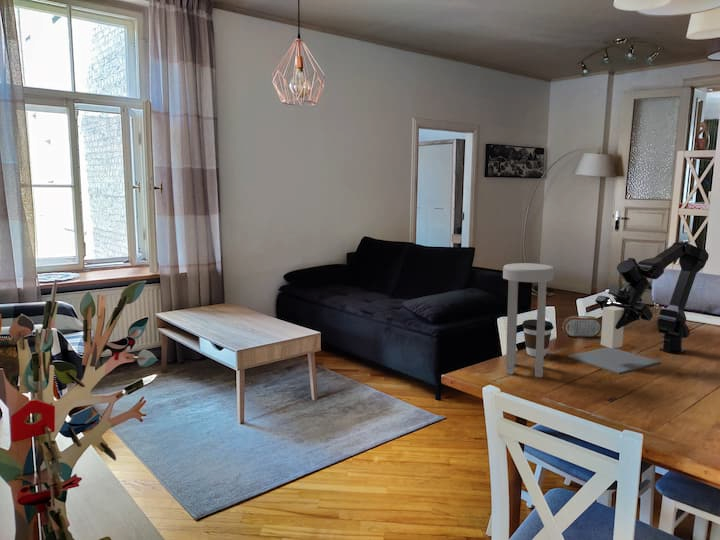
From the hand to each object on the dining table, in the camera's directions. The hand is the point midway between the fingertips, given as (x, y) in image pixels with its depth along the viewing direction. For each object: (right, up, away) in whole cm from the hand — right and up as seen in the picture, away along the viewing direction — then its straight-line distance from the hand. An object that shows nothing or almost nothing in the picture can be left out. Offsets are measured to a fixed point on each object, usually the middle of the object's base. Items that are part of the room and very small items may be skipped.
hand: (609, 326), depth 177 cm
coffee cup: (-20, -12, +15) cm, 27 cm away
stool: (-29, -14, -2) cm, 33 cm away
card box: (+1, -6, +2) cm, 7 cm away
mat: (+5, -12, +7) cm, 15 cm away
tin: (+6, -8, +37) cm, 39 cm away
